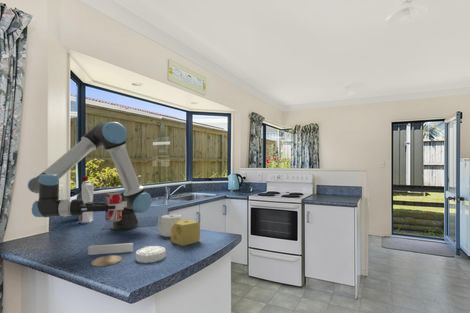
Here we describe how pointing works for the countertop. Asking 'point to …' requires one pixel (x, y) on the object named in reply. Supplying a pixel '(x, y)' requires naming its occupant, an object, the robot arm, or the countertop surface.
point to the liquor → (81, 191)
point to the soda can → (113, 214)
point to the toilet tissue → (167, 224)
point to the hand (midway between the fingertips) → (124, 205)
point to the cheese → (185, 232)
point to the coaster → (106, 261)
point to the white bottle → (87, 197)
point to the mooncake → (150, 254)
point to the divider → (110, 248)
